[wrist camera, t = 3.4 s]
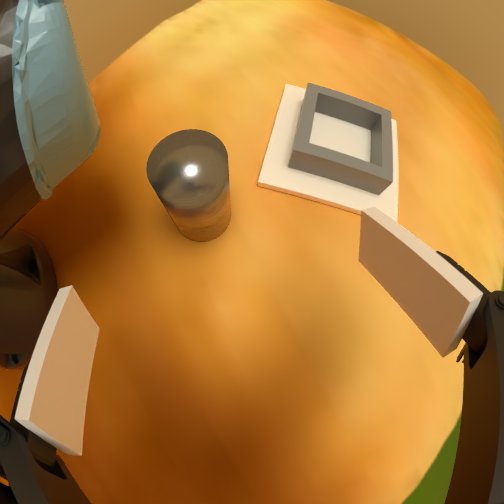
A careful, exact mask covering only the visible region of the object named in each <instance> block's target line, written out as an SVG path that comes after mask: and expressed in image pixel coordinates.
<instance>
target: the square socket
mask: <svg viewBox="0 0 504 504" xmlns="http://www.w3.org/2000/svg"><path fill="white" fill-rule="evenodd" d="M257 186H260V187H264V188H268V189H272V190H276V191H280V192H284V193H287V194H291V195H295V196H298V197H302V198H306V199H309V200H313V201H316V202H320V203H323V204H327V205H330V206H333V207H337V208H340V209H343V210H346V211H350V212H353V213H356V214H359V215H361V210H363V209H367V208H372V207H376V208H377V209H379V210H380V211H381V212H383V213H384V214H386V215H387V216H389V217H390V218H391V219H393V220H394V221H396V222H397V215H398V143H397V126H396V120H394V119H391V111H389V110H386V109H384V108H381V107H379V106H376V105H374V104H371V103H369V102H366V101H364V100H361V99H358V98H355V97H352V96H350V95H347V94H344V93H341V92H338V91H335V90H331V89H328V88H325V87H322V86H318V85H315V84H311V83H308V84H307V88H306V89H304V88H300V87H297V86H293V85H288V84H286V86H285V89H284V93H283V96H282V99H281V103H280V106H279V110H278V113H277V117H276V120H275V124H274V127H273V130H272V134H271V137H270V141H269V144H268V148H267V151H266V155H265V159H264V162H263V166H262V169H261V173H260V176H259V180H258V185H257Z"/></svg>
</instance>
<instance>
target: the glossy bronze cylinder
mask: <svg viewBox="0 0 504 504" xmlns="http://www.w3.org/2000/svg"><path fill="white" fill-rule="evenodd" d="M147 176H148V179H149V182H150V183H151V185H152V187H153V188H154V190H155V192H156V193H157V195H158V197H159V198H160V200H161V202H162V203H163V205H164V207H165V208H166V210H167V211H168V213H169V215H170V216H171V218H172V219H173V221H174V223H175V224H176V226H177V227H178V229H179V231H180V232H181V233H182V234H183V235H184V236H185V237H187V238H188V239H190V240H193V241H198V242H206V241H210V240H213V239H215V238H217V237H218V236H220V235H221V234H222V233H223V232H224V231H225V230H226V228H227V227H228V225H229V222H230V218H231V208H230V189H229V170H228V154H227V151H226V148H225V146H224V144H223V143H222V142H221V140H219V139H218V138H217V137H216V136H214V135H213V134H211V133H209V132H206V131H203V130H196V129H189V130H182V131H178V132H175V133H173V134H171V135H169V136H167V137H166V138H164V139H163V140H161V141H160V142H159V143H158V144H157V145H156V146H155V148H154V149H153V150H152V152H151V154H150V156H149V158H148V162H147Z"/></svg>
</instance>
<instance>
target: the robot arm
mask: <svg viewBox="0 0 504 504" xmlns="http://www.w3.org/2000/svg"><path fill="white" fill-rule="evenodd" d="M99 137H100V120H99V116H98V113H97V110H96V107H95V103H94V100H93V97H92V94H91V91H90V88H89V85H88V82H87V79H86V75H85V72H84V69H83V66H82V63H81V59H80V56H79V53H78V49H77V46H76V43H75V39H74V36H73V32H72V29H71V25H70V21H69V18H68V14H67V11H66V7H65V6H64V0H0V367H1V368H5V369H17V368H24V367H25V369H24V371H23V374H22V377H21V382H20V384H19V388H18V389H19V391H17V395H16V399H15V403H14V407H13V411H12V415H11V420H10V423H9V422H8V421H7V420H6V419H4V418H3V417H2V416H1V415H0V477H2V478H4V479H6V480H8V482H9V486H6V485H4V484H2V483H0V504H91V503H90V501H89V500H88V498H87V497H86V496H85V494H84V493H83V492H82V490H81V489H80V487H79V486H78V484H77V483H76V481H75V480H74V478H73V477H72V475H71V474H70V472H69V470H68V469H67V467H66V466H65V464H64V462H63V461H62V459H61V458H60V457H59V456H58V455H56V449H58V450H60V451H61V452H63V453H65V454H67V455H76V456H82V445H83V431H84V420H85V411H86V403H87V395H88V388H89V382H90V375H91V370H92V364H93V359H94V353H95V348H96V344H97V339H98V334H99V330H100V329H99V327H98V326H97V324H96V323H95V321H94V320H93V318H92V317H91V315H90V314H89V312H88V310H87V309H86V307H85V306H84V304H83V302H82V301H81V299H80V297H79V296H78V294H77V292H76V291H75V289H74V287H73V286H72V285H71V286H67V287H64V288H60V289H59V291H58V293H57V283H56V277H55V272H54V268H53V265H52V262H51V259H50V257H49V254H48V253H47V251H46V249H45V247H44V246H43V245H42V243H41V242H40V241H39V240H38V239H37V238H36V237H34V236H33V235H31V234H29V233H27V232H25V231H23V230H21V229H19V228H15V227H13V226H14V225H15V224H16V223H17V222H18V221H19V220H20V219H21V218H22V217H23V216H24V215H25V214H26V213H27V212H28V211H29V210H31V209H32V208H33V207H34V206H35V205H36V204H37V203H38V202H39V201H40V200H41V199H44V200H47V199H48V198H49V197H50V196H51V195H52V192H53V189H54V188H55V187H56V186H57V185H58V184H59V183H61V182H62V181H63V180H64V179H65V178H66V177H67V176H68V175H70V174H71V173H72V172H73V171H74V170H75V169H77V168H78V167H79V166H80V165H81V164H83V163H84V162H85V161H86V160H87V159H88V158H89V157H90V156H91V155H92V153H93V152H94V150H95V148H96V146H97V144H98V141H99ZM359 262H360V263H361V264H362V265H363V266H364V267H365V268H366V269H367V270H368V271H369V272H370V273H371V274H372V275H373V276H374V278H375V279H376V280H377V281H378V282H379V283H380V284H381V285H382V286H383V287H384V289H385V290H386V291H387V292H388V293H389V294H390V295H391V296H392V297H393V299H394V300H395V301H396V302H397V303H398V304H399V305H400V307H401V308H402V309H403V310H404V311H405V312H406V313H407V315H408V316H409V317H410V318H411V319H412V320H413V322H414V323H415V324H416V325H417V326H418V328H419V329H420V330H421V331H422V332H423V334H424V335H425V336H426V337H427V339H428V340H429V341H430V342H431V343H432V345H433V346H434V347H435V348H436V350H437V351H438V352H439V354H440V355H441V356H442V357H445V356H446V355H448V354H449V353H451V352H452V351H454V350H455V349H456V348H457V346H458V345H459V343H460V341H461V339H462V338H463V340H464V341H465V342H466V343H465V345H464V347H463V349H462V350H461V352H460V354H459V355H458V357H457V361H456V362H459V361H460V359H461V358H462V356H463V355H464V359H463V361H462V363H464V388H463V405H462V417H461V426H460V435H459V441H458V448H457V453H456V459H455V464H454V469H453V474H452V478H451V482H450V486H449V490H448V493H447V497H446V500H445V504H504V292H503V291H494V292H492V293H491V292H490V291H488V290H487V289H486V288H485V287H484V286H483V285H482V284H481V283H480V282H478V281H477V280H476V279H475V278H474V277H473V276H472V275H471V274H469V273H468V272H467V271H465V270H464V268H462V267H461V266H460V265H458V263H456V262H455V261H454V260H453V259H452V258H450V257H449V256H447V255H445V254H443V253H441V252H439V251H436V252H435V251H434V250H433V249H431V248H430V247H429V246H428V245H426V244H425V243H424V242H422V241H421V240H420V239H418V238H417V237H416V236H415V235H413V234H412V233H411V232H409V231H408V230H407V229H405V228H404V227H403V226H401V225H400V224H398V223H397V222H396V221H394V220H393V219H391V218H390V217H389V216H387V215H386V214H384V213H383V212H381V211H380V210H379V209H377V208H376V207H372V208H367V209H363V210H361V229H360V248H359Z"/></svg>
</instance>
